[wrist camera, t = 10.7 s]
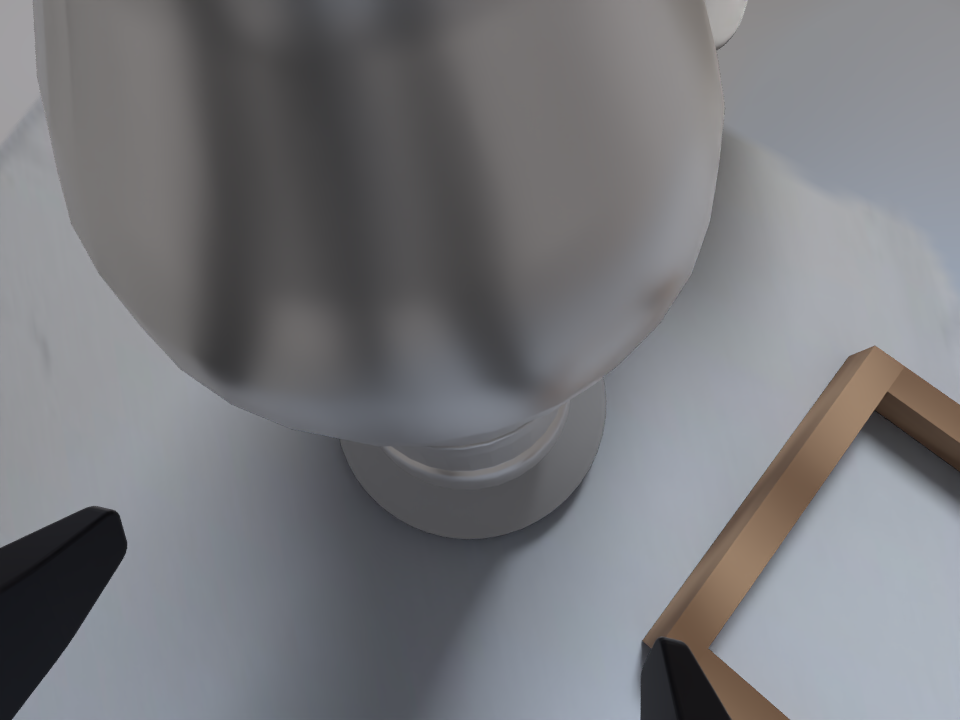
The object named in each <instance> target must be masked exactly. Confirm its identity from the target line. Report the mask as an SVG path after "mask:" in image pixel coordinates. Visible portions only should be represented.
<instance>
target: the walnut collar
mask: <svg viewBox="0 0 960 720" xmlns="http://www.w3.org/2000/svg"><path fill="white" fill-rule="evenodd" d="M874 410H875V411H877V412H878V413H880V414H881V415H882V416H884V417H885V418H886V419H888V420H889V421H891V422H892V423H893V424H895V425H896V426H897V427H899V428H900V429H902V430H903V431H904V432H906V433H907V434H908V435H910V436H911V437H913V438H914V439H915V440H917V441H918V442H920V443H921V444H922V445H924V446H925V447H926V448H928V449H929V450H931V451H932V452H933V453H935V454H936V455H937V456H939V457H940V458H942V459H943V460H944V461H946V462H947V463H948V464H950V465H951V466H953V467H954V468H955V469H957V470H958V471H959V472H960V405H959V404H958V403H956V402H955V401H953V400H952V399H951V398H949V397H948V396H946V395H945V394H943V393H942V392H941V391H939V390H938V389H936V388H935V387H933V386H932V385H931V384H929V383H928V382H926V381H925V380H923V379H922V378H921V377H919V376H918V375H916V374H915V373H913V372H912V371H911V370H909V369H908V368H906V367H905V366H903V365H902V364H901V363H899V362H898V361H896V360H895V359H894V358H892V357H891V356H889V355H888V354H886V353H885V352H884V351H882V350H881V349H879V348H878V347H876V346H873V347H870V348H868V349H865V350H863V351H861V352H858V353H856V354H853V355H851V356H849V357H848V358H847V360H846V361H845V362H844V364H843V365H842V367H841V368H840V369H839V371H838V372H837V373H836V375H835V376H834V378H833V379H832V380H831V382H830V383H829V384H828V386H827V387H826V389H825V390H824V391H823V393H822V394H821V395H820V397H819V398H818V400H817V401H816V402H815V404H814V405H813V406H812V408H811V409H810V411H809V412H808V413H807V415H806V416H805V417H804V419H803V420H802V422H801V423H800V424H799V426H798V427H797V428H796V430H795V431H794V433H793V434H792V435H791V437H790V438H789V439H788V441H787V442H786V444H785V445H784V446H783V448H782V449H781V450H780V452H779V453H778V455H777V456H776V457H775V459H774V460H773V461H772V463H771V464H770V466H769V467H768V468H767V470H766V471H765V473H764V474H763V475H762V477H761V478H760V479H759V481H758V482H757V484H756V485H755V486H754V488H753V489H752V490H751V492H750V493H749V495H748V496H747V497H746V499H745V500H744V501H743V503H742V504H741V506H740V507H739V508H738V510H737V511H736V512H735V514H734V515H733V517H732V518H731V519H730V521H729V522H728V523H727V525H726V526H725V528H724V529H723V530H722V532H721V533H720V534H719V536H718V537H717V539H716V540H715V541H714V543H713V544H712V545H711V547H710V548H709V550H708V551H707V552H706V554H705V555H704V556H703V558H702V559H701V561H700V562H699V563H698V565H697V566H696V568H695V569H694V570H693V572H692V573H691V574H690V576H689V577H688V579H687V580H686V581H685V583H684V584H683V585H682V587H681V588H680V590H679V591H678V592H677V594H676V595H675V596H674V598H673V599H672V601H671V602H670V603H669V605H668V606H667V607H666V609H665V610H664V612H663V613H662V614H661V616H660V617H659V618H658V620H657V621H656V623H655V624H654V625H653V627H652V628H651V629H650V631H649V632H648V634H647V635H646V636H645V638H644V639H643V640H642V641H643V642H644V643H645V644H646V645H648V646H649V647H650V648H652V646H653V644H654V642H655V641H656V639H657V638H658V637H660V636H662V637H667V638H671V639H676V640H680V641H683V642H684V643H685V644H687V646H688V647H689V648H690V650H691V651H692V653H693V655H694V657H695V658H696V660H697V662H698V663H699V665H700V667H701V668H702V670H703V672H704V673H705V675H706V677H707V678H708V680H709V682H710V684H711V685H712V687H713V689H714V690H715V692H716V694H717V695H718V697H719V699H720V700H721V702H722V704H723V706H724V707H725V709H726V711H727V712H728V714H729V716H730V717H731V719H732V720H790V719H789V718H787V717H786V716H785V715H784V714H783V713H782V712H781V711H779V710H778V709H777V708H776V707H775V706H774V705H773V704H771V703H770V702H769V701H768V700H767V699H766V698H765V697H763V696H762V695H761V694H760V693H759V692H758V691H756V690H755V689H754V688H753V687H752V686H751V685H750V684H748V683H747V682H746V681H745V680H744V679H743V678H742V677H740V676H739V675H738V674H737V673H736V672H735V671H734V670H732V669H731V668H730V667H729V666H728V665H727V664H726V663H724V662H723V661H722V660H721V659H720V658H719V657H717V656H716V655H715V654H714V653H713V652H712V651H711V650H709V649H708V648H709V646H710V645H711V643H712V642H713V640H714V639H715V638H716V636H717V635H718V633H719V632H720V630H721V629H722V628H723V626H724V625H725V623H726V622H727V620H728V619H729V617H730V616H731V615H732V613H733V612H734V610H735V609H736V607H737V606H738V605H739V603H740V602H741V600H742V599H743V597H744V596H745V595H746V593H747V592H748V590H749V589H750V587H751V586H752V585H753V583H754V582H755V580H756V579H757V577H758V576H759V575H760V573H761V572H762V570H763V569H764V567H765V566H766V564H767V563H768V562H769V560H770V559H771V557H772V556H773V554H774V553H775V552H776V550H777V549H778V547H779V546H780V544H781V543H782V542H783V540H784V539H785V537H786V536H787V534H788V533H789V532H790V530H791V529H792V527H793V526H794V524H795V523H796V521H797V520H798V519H799V517H800V516H801V514H802V513H803V511H804V510H805V509H806V507H807V506H808V504H809V503H810V501H811V500H812V499H813V497H814V496H815V494H816V493H817V491H818V490H819V489H820V487H821V486H822V484H823V483H824V481H825V480H826V479H827V477H828V476H829V474H830V473H831V471H832V470H833V468H834V467H835V466H836V464H837V463H838V461H839V460H840V458H841V457H842V456H843V454H844V453H845V451H846V450H847V448H848V447H849V446H850V444H851V443H852V441H853V440H854V438H855V437H856V436H857V434H858V433H859V431H860V430H861V428H862V427H863V425H864V424H865V423H866V421H867V420H868V418H869V417H870V415H871V414H872V413H873V411H874Z"/></svg>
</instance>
